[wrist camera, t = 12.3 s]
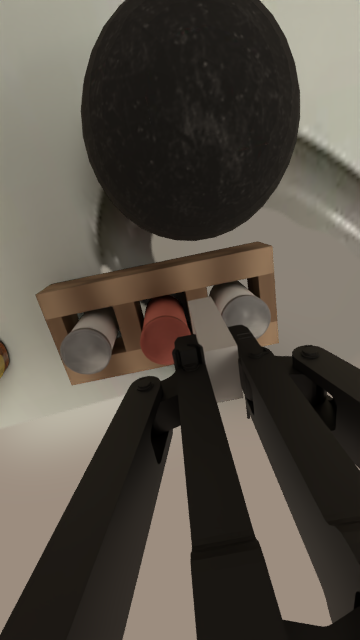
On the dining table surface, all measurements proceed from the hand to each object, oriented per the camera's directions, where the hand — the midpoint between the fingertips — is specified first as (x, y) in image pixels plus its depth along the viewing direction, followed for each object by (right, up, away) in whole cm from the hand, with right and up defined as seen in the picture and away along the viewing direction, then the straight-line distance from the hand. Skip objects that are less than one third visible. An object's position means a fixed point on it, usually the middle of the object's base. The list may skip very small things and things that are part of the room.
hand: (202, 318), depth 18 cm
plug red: (-3, +1, +11) cm, 12 cm away
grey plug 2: (+4, +2, +12) cm, 13 cm away
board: (-3, +1, +13) cm, 13 cm away
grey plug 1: (-10, 0, +12) cm, 16 cm away
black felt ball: (-1, +15, +8) cm, 17 cm away
